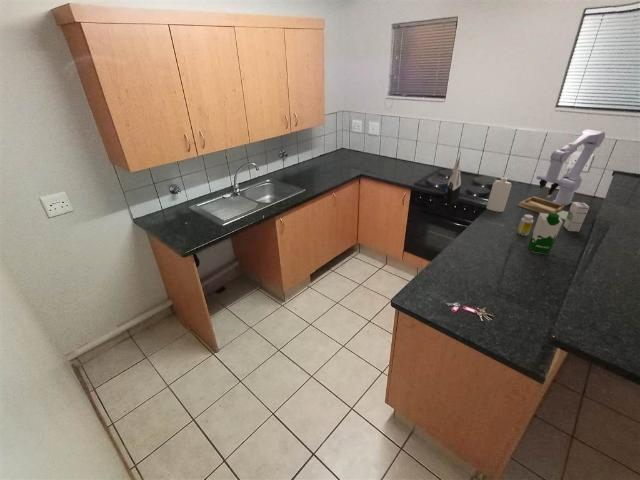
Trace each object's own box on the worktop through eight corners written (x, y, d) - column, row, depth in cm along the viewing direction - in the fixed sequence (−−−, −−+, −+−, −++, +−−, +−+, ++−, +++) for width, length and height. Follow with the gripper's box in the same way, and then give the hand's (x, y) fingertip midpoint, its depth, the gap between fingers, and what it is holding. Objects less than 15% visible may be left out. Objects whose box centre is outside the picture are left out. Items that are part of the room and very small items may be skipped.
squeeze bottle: (486, 206, 198) (485, 209, 194) (495, 175, 188) (494, 178, 184) (504, 209, 193) (503, 212, 190) (513, 178, 183) (513, 180, 180)
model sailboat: (459, 192, 218) (469, 148, 203) (457, 205, 199) (468, 158, 184) (444, 190, 222) (453, 147, 206) (441, 203, 202) (451, 156, 187)
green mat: (561, 211, 191) (562, 210, 191) (575, 215, 186) (575, 214, 186) (552, 216, 185) (552, 215, 185) (565, 220, 180) (565, 219, 180)
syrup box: (579, 231, 169) (590, 206, 162) (566, 230, 170) (577, 206, 163) (574, 226, 174) (585, 202, 166) (562, 225, 175) (572, 201, 167)
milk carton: (529, 253, 151) (544, 215, 141) (525, 244, 159) (539, 207, 148) (550, 256, 149) (567, 218, 139) (545, 247, 156) (561, 210, 146)
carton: (532, 200, 205) (533, 195, 204) (562, 209, 192) (564, 205, 191) (518, 206, 197) (519, 202, 196) (549, 216, 184) (551, 212, 183)
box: (543, 194, 194) (547, 185, 191) (550, 196, 191) (554, 187, 188) (537, 196, 191) (541, 186, 188) (545, 198, 188) (549, 189, 185)
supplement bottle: (531, 234, 167) (537, 217, 162) (523, 236, 165) (529, 219, 160) (522, 230, 171) (528, 212, 166) (514, 231, 170) (520, 214, 164)
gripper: (537, 169, 187) (529, 191, 193) (564, 176, 176) (555, 199, 183) (543, 167, 190) (535, 189, 197) (570, 174, 179) (561, 196, 186)
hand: (545, 193), depth 190 cm, fingers closed on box, 4 cm apart
